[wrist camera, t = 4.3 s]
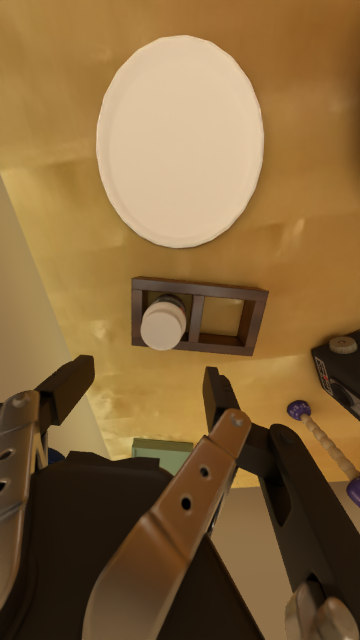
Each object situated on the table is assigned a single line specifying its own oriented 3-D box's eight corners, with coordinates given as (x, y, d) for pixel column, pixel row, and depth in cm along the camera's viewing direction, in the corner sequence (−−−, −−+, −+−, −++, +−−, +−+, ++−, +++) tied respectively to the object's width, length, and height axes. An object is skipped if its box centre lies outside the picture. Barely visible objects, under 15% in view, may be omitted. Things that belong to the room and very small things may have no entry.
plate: (66, 154, 22) (60, 148, 21) (188, -15, 17) (189, -36, 16) (173, 278, 26) (172, 279, 25) (291, 170, 22) (298, 165, 21)
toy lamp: (301, 395, 33) (411, 514, 17) (316, 407, 34) (433, 532, 18) (282, 409, 34) (368, 533, 18) (297, 420, 35) (391, 549, 19)
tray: (133, 474, 41) (131, 484, 39) (134, 438, 38) (131, 447, 36) (187, 478, 41) (187, 488, 40) (192, 443, 38) (193, 452, 36)
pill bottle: (192, 309, 28) (197, 331, 19) (170, 332, 29) (164, 364, 20) (166, 286, 27) (157, 297, 17) (144, 311, 28) (125, 334, 19)
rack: (243, 345, 30) (252, 356, 26) (137, 335, 30) (131, 345, 26) (257, 287, 27) (269, 291, 23) (138, 276, 26) (131, 278, 23)
